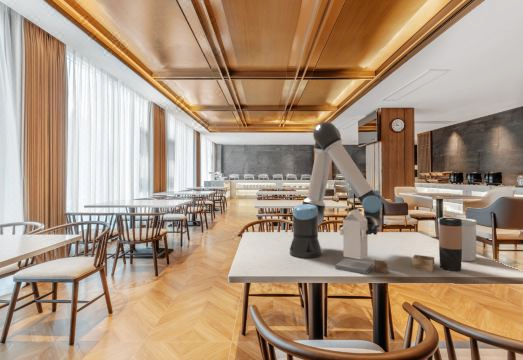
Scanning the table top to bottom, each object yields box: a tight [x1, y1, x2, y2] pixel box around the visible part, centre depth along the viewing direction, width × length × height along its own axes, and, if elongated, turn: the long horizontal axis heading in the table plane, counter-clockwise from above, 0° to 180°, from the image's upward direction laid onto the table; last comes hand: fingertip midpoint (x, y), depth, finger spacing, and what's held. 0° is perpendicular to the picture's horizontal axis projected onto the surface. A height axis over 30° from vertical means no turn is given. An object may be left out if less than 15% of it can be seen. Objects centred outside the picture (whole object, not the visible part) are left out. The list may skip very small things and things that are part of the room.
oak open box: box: [411, 254, 435, 273], centre depth 116 cm, size 7×7×4 cm
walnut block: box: [374, 259, 388, 275], centre depth 111 cm, size 4×4×4 cm
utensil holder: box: [437, 217, 478, 262], centre depth 132 cm, size 15×15×18 cm
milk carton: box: [342, 208, 368, 260], centre depth 117 cm, size 7×7×19 cm
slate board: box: [334, 257, 375, 275], centre depth 117 cm, size 12×12×2 cm
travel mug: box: [438, 217, 463, 272], centre depth 115 cm, size 8×8×20 cm
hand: (351, 232), depth 113 cm, fingers closed on milk carton, 8 cm apart
